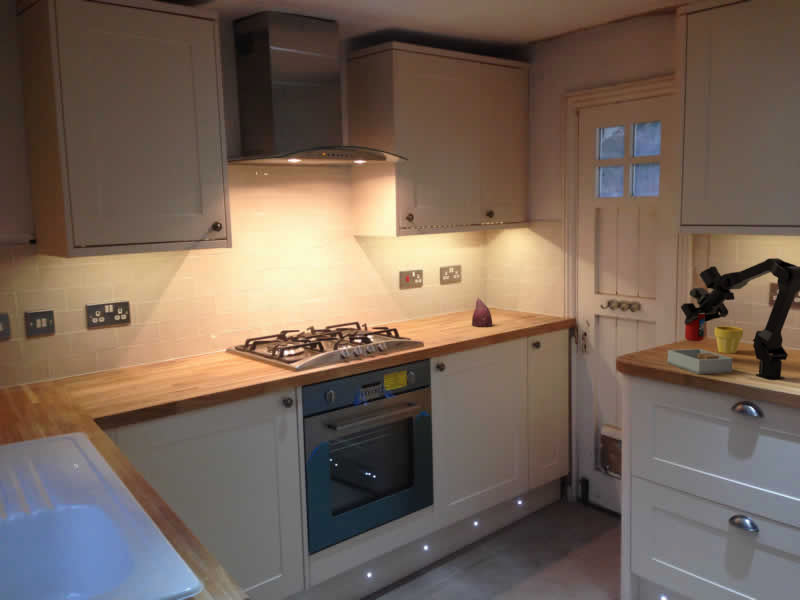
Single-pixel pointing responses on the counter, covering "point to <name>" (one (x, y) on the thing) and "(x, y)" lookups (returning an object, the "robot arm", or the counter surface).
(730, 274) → the robot arm
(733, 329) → the plant pot
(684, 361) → the tote
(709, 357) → the walnut cube
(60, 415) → the counter surface
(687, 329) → the beverage can
